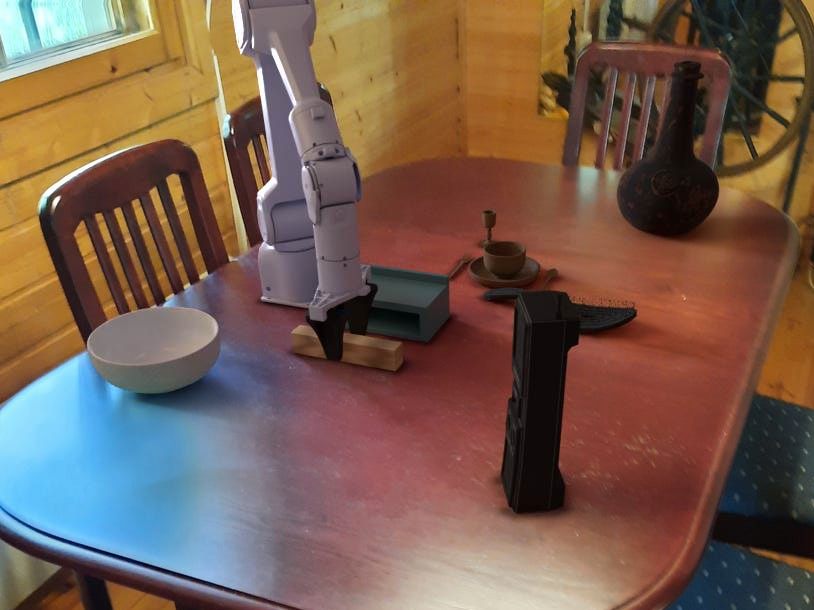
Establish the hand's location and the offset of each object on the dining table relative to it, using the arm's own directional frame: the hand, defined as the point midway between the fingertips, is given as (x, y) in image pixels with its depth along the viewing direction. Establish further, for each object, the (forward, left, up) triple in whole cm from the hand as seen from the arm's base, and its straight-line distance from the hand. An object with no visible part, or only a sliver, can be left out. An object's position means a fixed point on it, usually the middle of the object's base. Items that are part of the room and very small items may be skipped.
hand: (346, 346), depth 120 cm
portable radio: (+33, -21, -2) cm, 39 cm away
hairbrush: (+24, +23, -2) cm, 33 cm away
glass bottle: (+33, +65, -2) cm, 73 cm away
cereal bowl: (-21, -14, -2) cm, 25 cm away
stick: (0, 0, -2) cm, 2 cm away
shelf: (0, +13, -2) cm, 13 cm away
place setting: (+12, +38, -2) cm, 40 cm away
